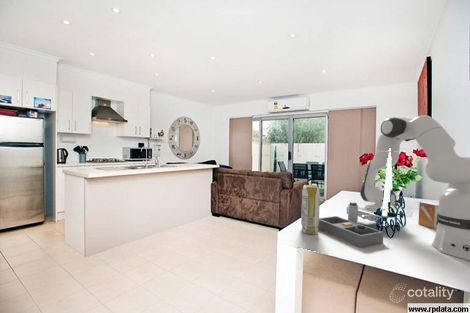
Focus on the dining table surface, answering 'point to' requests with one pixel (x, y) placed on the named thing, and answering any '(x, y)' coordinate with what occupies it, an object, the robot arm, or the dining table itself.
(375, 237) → the grey compartment tray
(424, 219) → the small box
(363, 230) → the twin plug
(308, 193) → the juice carton
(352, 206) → the grey plug
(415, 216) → the dining table surface
